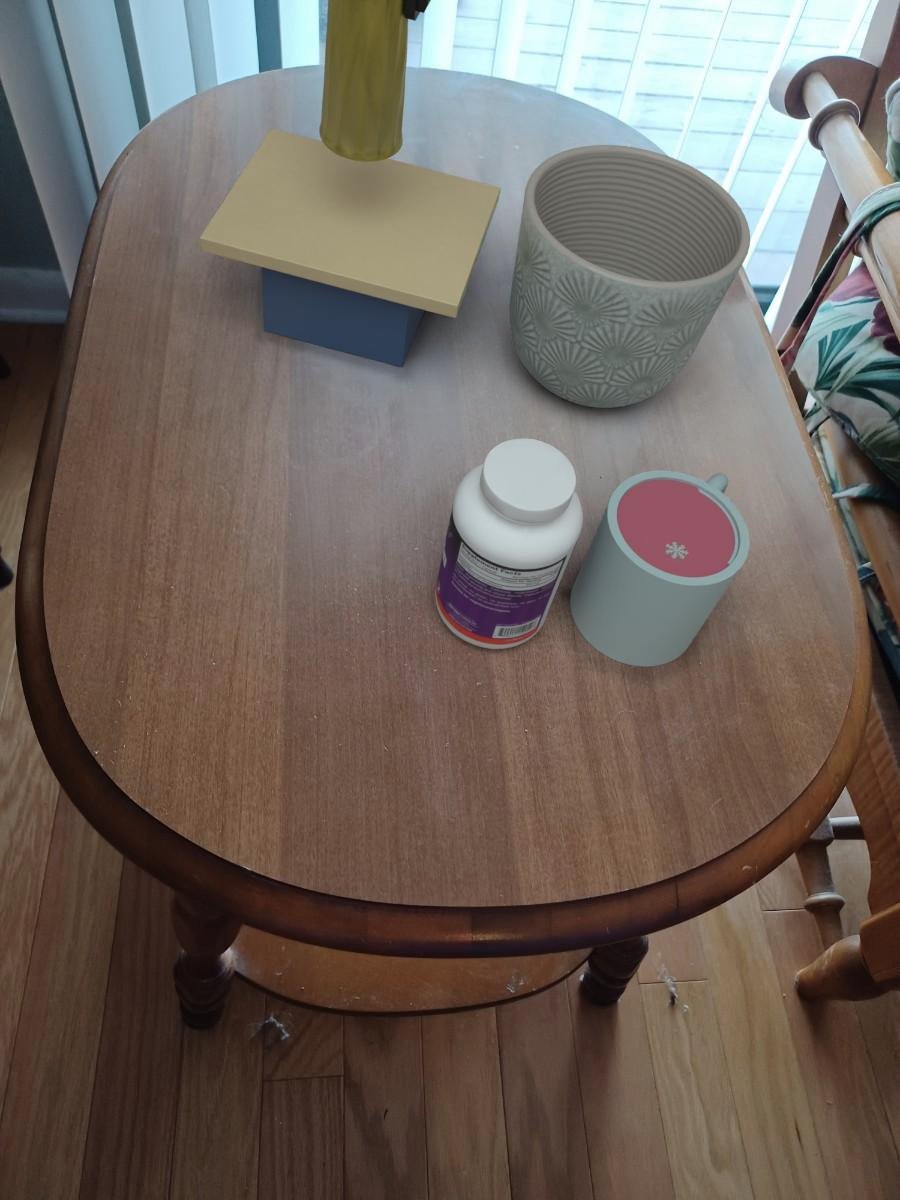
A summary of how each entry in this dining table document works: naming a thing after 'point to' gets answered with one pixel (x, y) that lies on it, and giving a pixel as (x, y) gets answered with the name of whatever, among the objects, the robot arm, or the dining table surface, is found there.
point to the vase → (364, 78)
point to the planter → (619, 271)
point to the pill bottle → (508, 544)
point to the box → (351, 243)
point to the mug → (658, 566)
